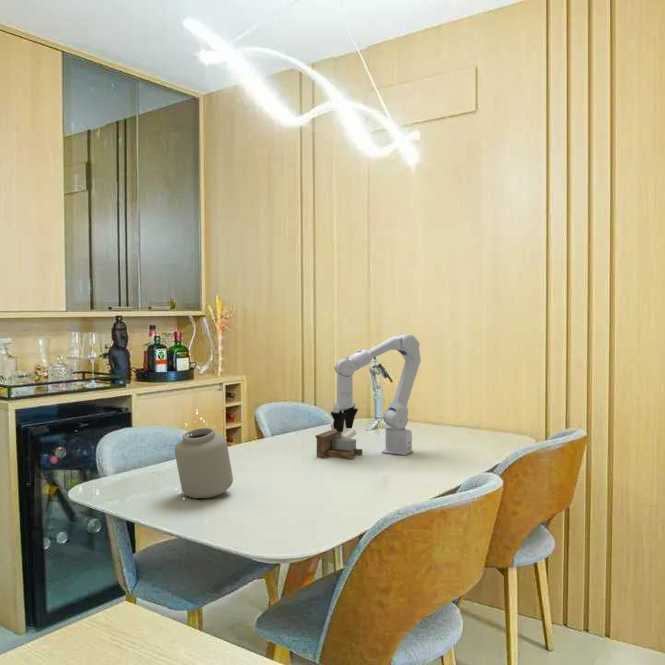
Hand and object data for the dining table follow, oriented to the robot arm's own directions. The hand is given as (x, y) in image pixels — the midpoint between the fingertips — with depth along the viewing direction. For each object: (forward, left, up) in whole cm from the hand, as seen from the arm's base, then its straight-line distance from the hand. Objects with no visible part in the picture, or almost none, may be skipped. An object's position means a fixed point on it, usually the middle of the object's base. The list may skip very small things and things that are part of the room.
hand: (344, 429), depth 240 cm
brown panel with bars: (+1, 0, -9) cm, 9 cm away
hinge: (+16, -31, -10) cm, 36 cm away
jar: (+14, +65, -10) cm, 67 cm away
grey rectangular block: (0, 0, -10) cm, 10 cm away
